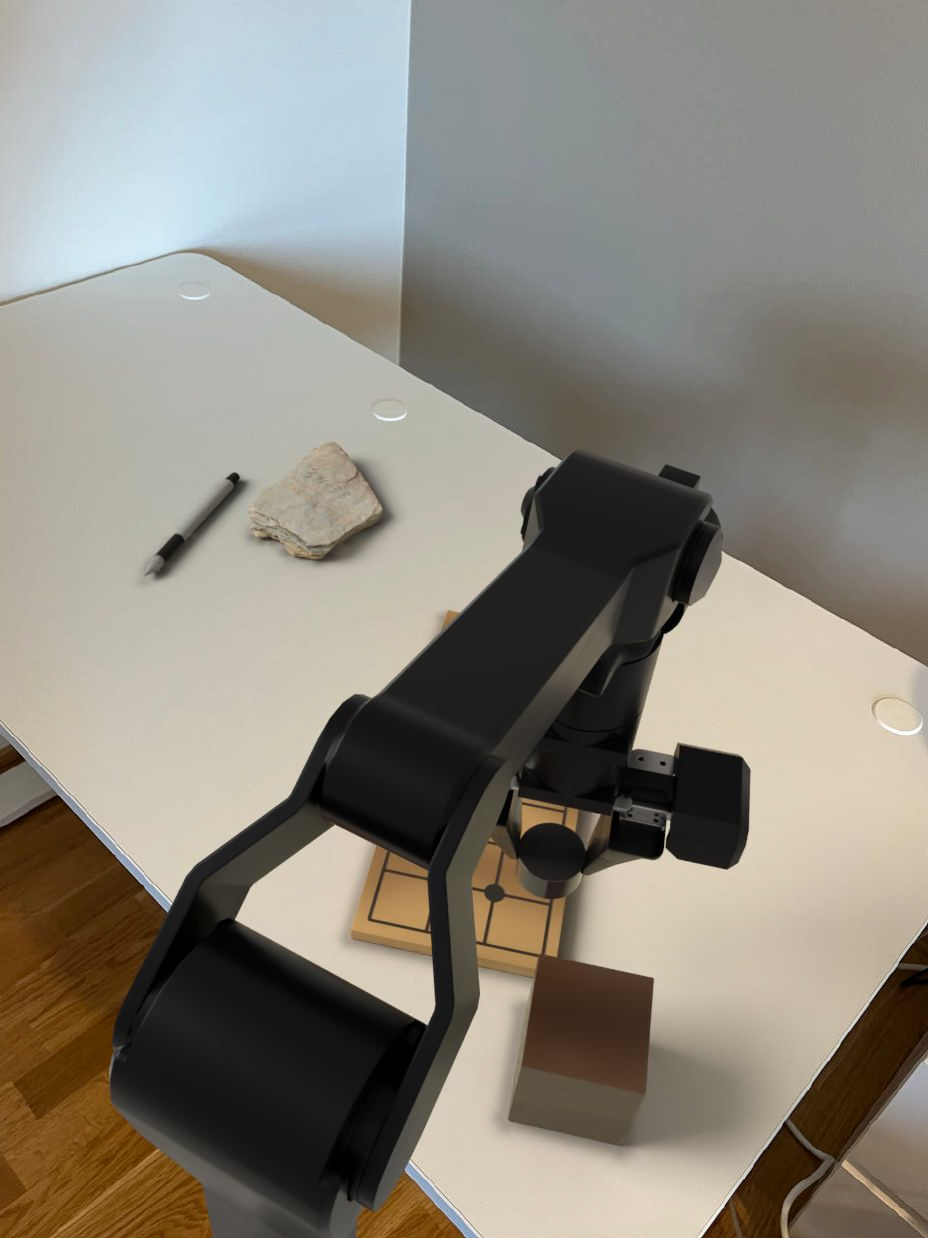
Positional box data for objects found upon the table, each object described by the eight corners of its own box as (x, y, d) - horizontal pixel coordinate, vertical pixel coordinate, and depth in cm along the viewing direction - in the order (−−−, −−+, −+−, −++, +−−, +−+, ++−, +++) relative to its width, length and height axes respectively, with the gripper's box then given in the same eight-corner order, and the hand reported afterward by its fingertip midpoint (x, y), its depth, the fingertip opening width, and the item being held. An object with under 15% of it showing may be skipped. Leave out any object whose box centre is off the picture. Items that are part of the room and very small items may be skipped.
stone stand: (621, 1147, 64) (645, 1094, 59) (507, 1120, 65) (520, 1066, 59) (631, 1035, 69) (654, 977, 64) (525, 1012, 70) (538, 952, 64)
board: (552, 982, 72) (555, 973, 71) (350, 938, 73) (350, 929, 72) (601, 648, 94) (604, 637, 93) (446, 619, 96) (447, 609, 95)
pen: (242, 482, 108) (241, 472, 107) (151, 583, 96) (149, 573, 95) (230, 479, 108) (229, 468, 107) (139, 579, 97) (136, 568, 96)
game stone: (576, 906, 62) (581, 888, 61) (509, 891, 62) (512, 873, 61) (585, 848, 65) (590, 830, 63) (521, 834, 65) (524, 816, 64)
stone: (327, 456, 112) (327, 435, 110) (411, 493, 108) (412, 472, 106) (233, 529, 102) (231, 508, 101) (322, 572, 99) (321, 551, 97)
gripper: (781, 609, 56) (715, 784, 68) (437, 545, 58) (427, 725, 69) (781, 775, 49) (706, 942, 60) (385, 695, 51) (383, 871, 62)
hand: (550, 860), depth 63 cm, fingers closed on game stone, 4 cm apart
